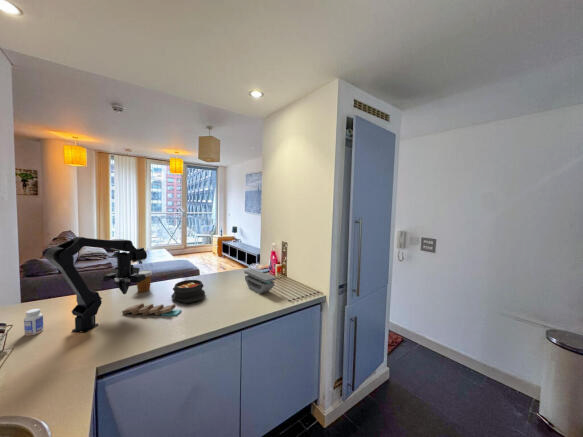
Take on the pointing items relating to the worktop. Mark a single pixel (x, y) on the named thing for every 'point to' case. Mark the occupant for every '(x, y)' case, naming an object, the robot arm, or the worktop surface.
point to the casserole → (188, 291)
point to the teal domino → (172, 313)
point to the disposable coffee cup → (144, 281)
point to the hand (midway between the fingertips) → (124, 293)
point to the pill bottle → (33, 322)
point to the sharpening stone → (259, 281)
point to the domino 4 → (165, 309)
